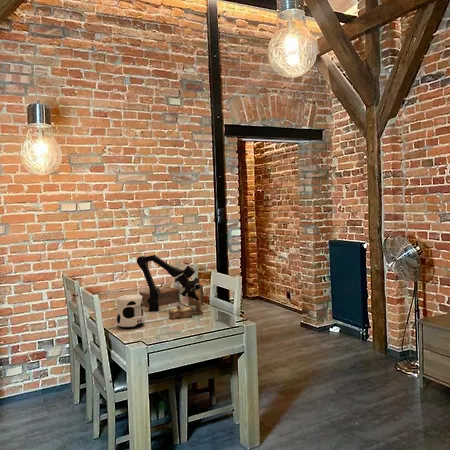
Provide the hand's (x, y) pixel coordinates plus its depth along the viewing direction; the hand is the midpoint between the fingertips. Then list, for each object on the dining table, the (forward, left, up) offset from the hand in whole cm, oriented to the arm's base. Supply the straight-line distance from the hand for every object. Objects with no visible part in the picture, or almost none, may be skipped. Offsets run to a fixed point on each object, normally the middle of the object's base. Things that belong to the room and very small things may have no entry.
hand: (199, 299), depth 302 cm
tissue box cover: (-23, +38, -9) cm, 45 cm away
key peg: (-1, +1, -8) cm, 8 cm away
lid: (-14, -9, -4) cm, 17 cm away
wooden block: (+1, +21, -9) cm, 23 cm away
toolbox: (-11, -8, -8) cm, 16 cm away
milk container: (-47, -18, -9) cm, 51 cm away
